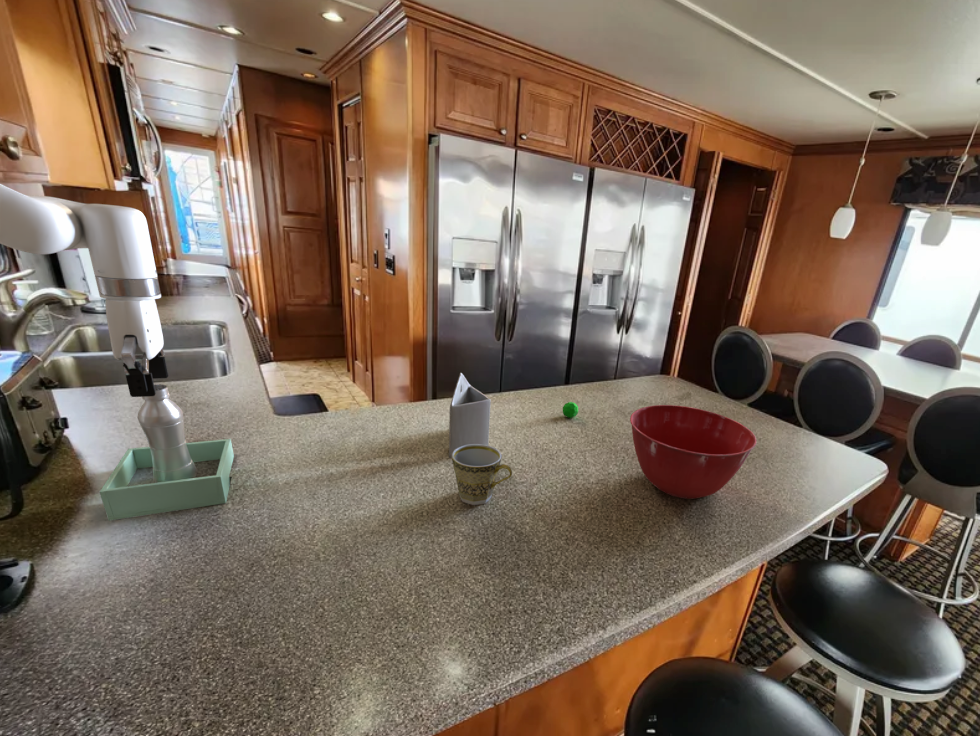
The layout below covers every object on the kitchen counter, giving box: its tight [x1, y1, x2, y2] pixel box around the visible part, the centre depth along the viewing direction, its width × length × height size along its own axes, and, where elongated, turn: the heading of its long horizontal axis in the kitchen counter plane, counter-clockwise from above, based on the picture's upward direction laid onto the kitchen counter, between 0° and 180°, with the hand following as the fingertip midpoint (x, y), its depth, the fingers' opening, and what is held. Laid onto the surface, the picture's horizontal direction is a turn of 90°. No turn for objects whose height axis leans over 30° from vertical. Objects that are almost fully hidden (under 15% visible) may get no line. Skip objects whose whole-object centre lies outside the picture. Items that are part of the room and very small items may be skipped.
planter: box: [448, 372, 492, 459], centre depth 115 cm, size 16×8×19 cm, turn 175°
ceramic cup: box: [451, 444, 513, 506], centre depth 95 cm, size 13×10×10 cm
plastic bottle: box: [137, 383, 197, 483], centre depth 85 cm, size 6×7×20 cm
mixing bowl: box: [629, 404, 757, 500], centre depth 108 cm, size 28×28×16 cm
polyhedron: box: [562, 401, 579, 419], centre depth 143 cm, size 5×5×5 cm
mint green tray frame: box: [99, 438, 235, 522], centre depth 88 cm, size 17×17×6 cm
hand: (150, 386), depth 81 cm, fingers open, 9 cm apart
